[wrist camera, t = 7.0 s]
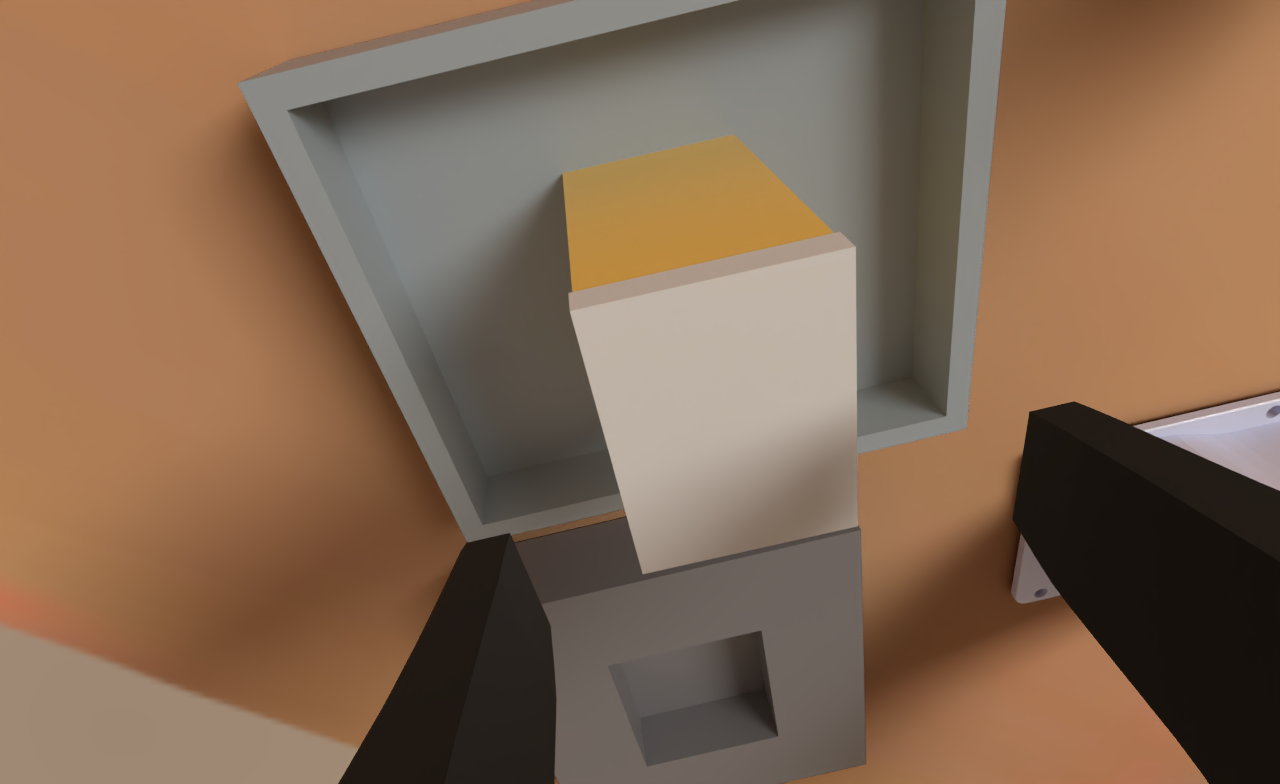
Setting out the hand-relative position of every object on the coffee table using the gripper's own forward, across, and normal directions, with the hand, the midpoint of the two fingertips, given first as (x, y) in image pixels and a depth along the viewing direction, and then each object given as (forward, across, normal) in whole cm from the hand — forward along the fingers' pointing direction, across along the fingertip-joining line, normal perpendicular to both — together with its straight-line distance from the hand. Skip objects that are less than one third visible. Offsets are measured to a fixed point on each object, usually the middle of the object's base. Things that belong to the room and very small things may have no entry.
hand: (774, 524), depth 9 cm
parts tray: (+10, 0, 0) cm, 10 cm away
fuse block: (+10, +2, +16) cm, 19 cm away
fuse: (+9, 0, 0) cm, 9 cm away
